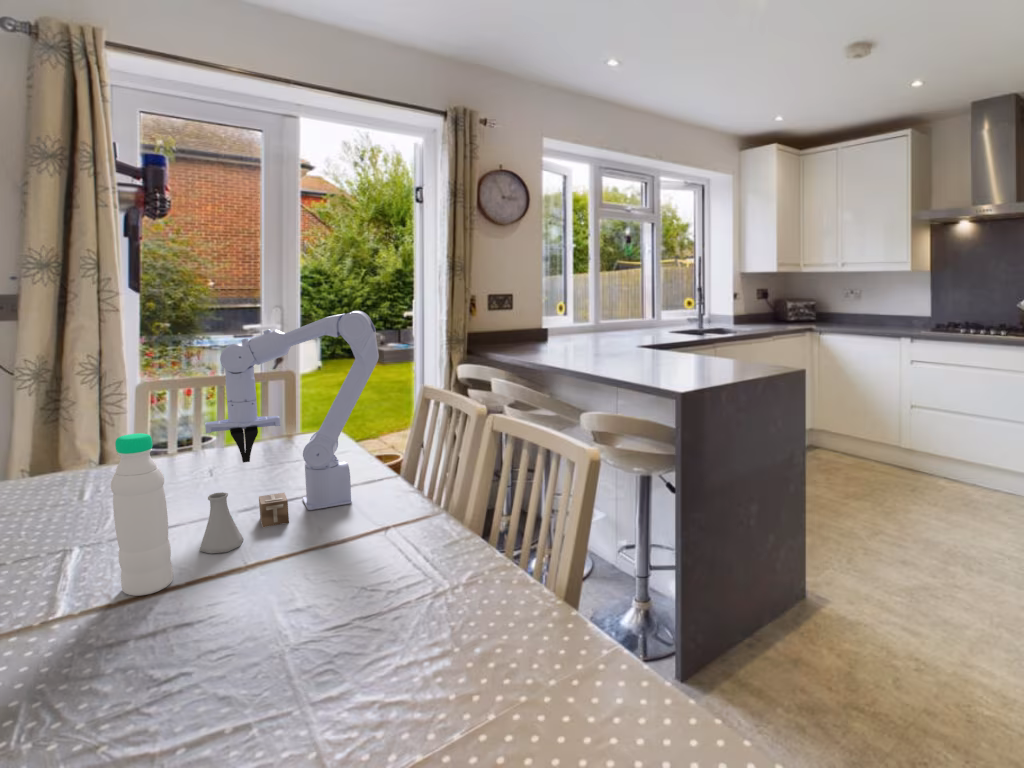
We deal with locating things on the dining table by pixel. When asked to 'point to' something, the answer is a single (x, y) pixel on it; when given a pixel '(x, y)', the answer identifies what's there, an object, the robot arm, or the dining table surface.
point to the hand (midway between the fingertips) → (246, 461)
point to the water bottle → (140, 518)
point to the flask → (220, 527)
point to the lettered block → (273, 509)
